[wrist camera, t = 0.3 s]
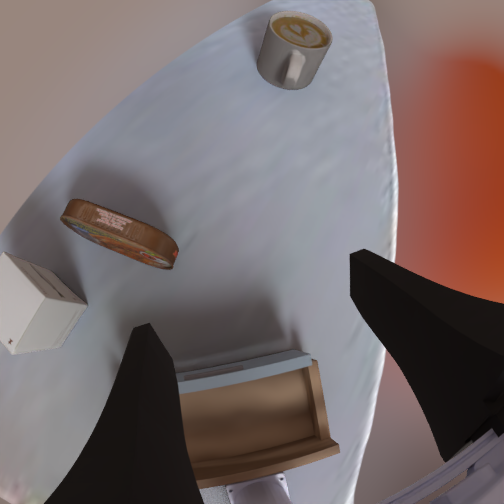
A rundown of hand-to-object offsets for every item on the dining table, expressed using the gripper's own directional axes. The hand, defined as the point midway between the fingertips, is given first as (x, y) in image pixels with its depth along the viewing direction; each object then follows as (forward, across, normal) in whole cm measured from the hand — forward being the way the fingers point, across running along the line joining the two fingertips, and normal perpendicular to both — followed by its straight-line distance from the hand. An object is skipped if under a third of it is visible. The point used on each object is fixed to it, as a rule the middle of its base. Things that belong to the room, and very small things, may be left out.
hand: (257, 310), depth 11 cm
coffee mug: (+46, -19, -3) cm, 49 cm away
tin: (+29, +11, +10) cm, 33 cm away
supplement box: (+24, +23, +13) cm, 36 cm away
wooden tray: (+12, +7, +29) cm, 32 cm away
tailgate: (+15, +6, +23) cm, 28 cm away
